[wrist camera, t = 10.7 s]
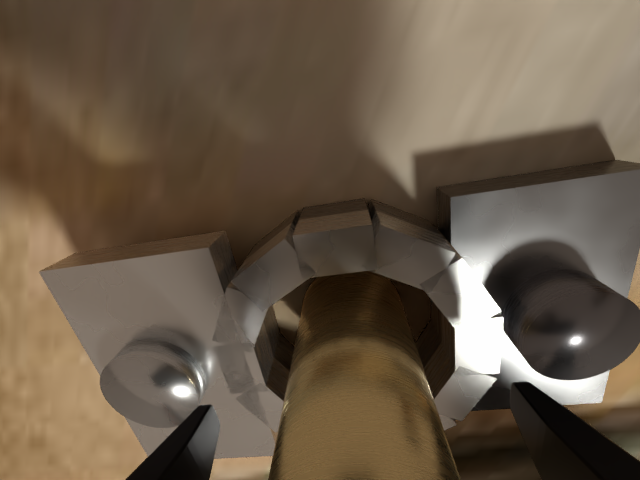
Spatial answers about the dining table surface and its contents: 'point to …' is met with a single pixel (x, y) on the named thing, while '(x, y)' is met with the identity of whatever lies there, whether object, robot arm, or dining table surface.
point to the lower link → (534, 273)
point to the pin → (358, 391)
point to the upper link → (256, 321)
